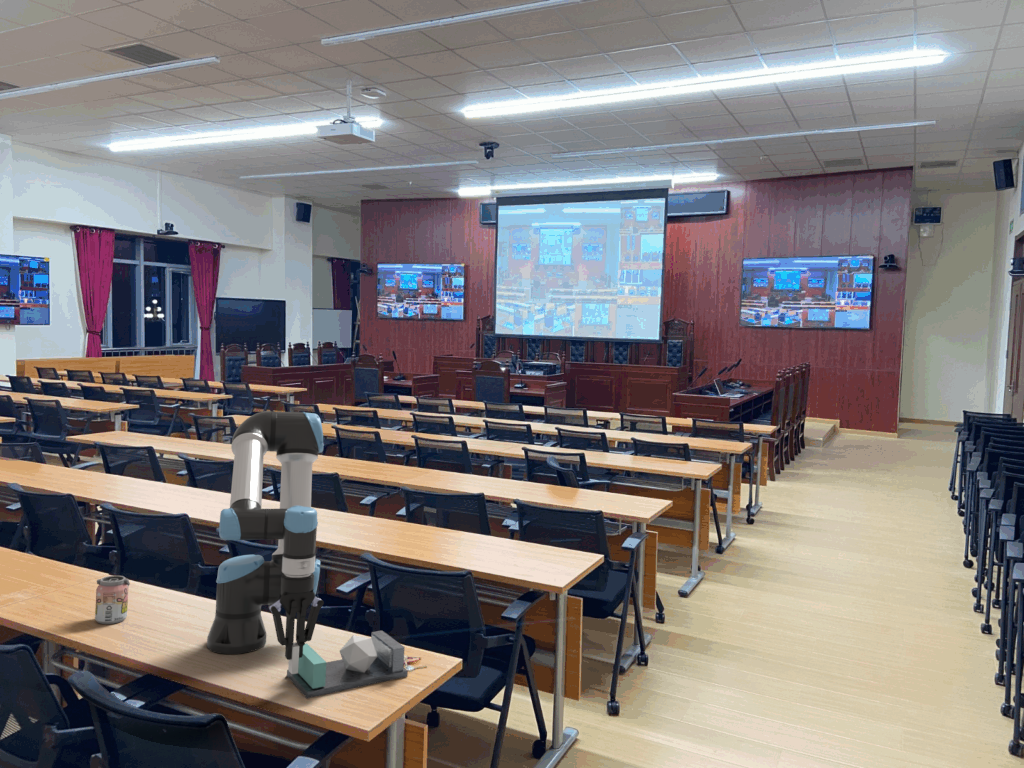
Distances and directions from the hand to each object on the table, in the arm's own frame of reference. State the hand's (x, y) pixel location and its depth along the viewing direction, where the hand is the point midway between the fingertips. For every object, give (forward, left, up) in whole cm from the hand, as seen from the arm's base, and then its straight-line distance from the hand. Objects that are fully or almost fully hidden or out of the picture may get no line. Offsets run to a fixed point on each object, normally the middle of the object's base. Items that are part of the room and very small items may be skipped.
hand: (293, 671), depth 176 cm
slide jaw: (0, +4, -2) cm, 5 cm away
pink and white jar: (-67, -30, -4) cm, 74 cm away
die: (0, +17, -3) cm, 17 cm away
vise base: (0, +14, -4) cm, 15 cm away
